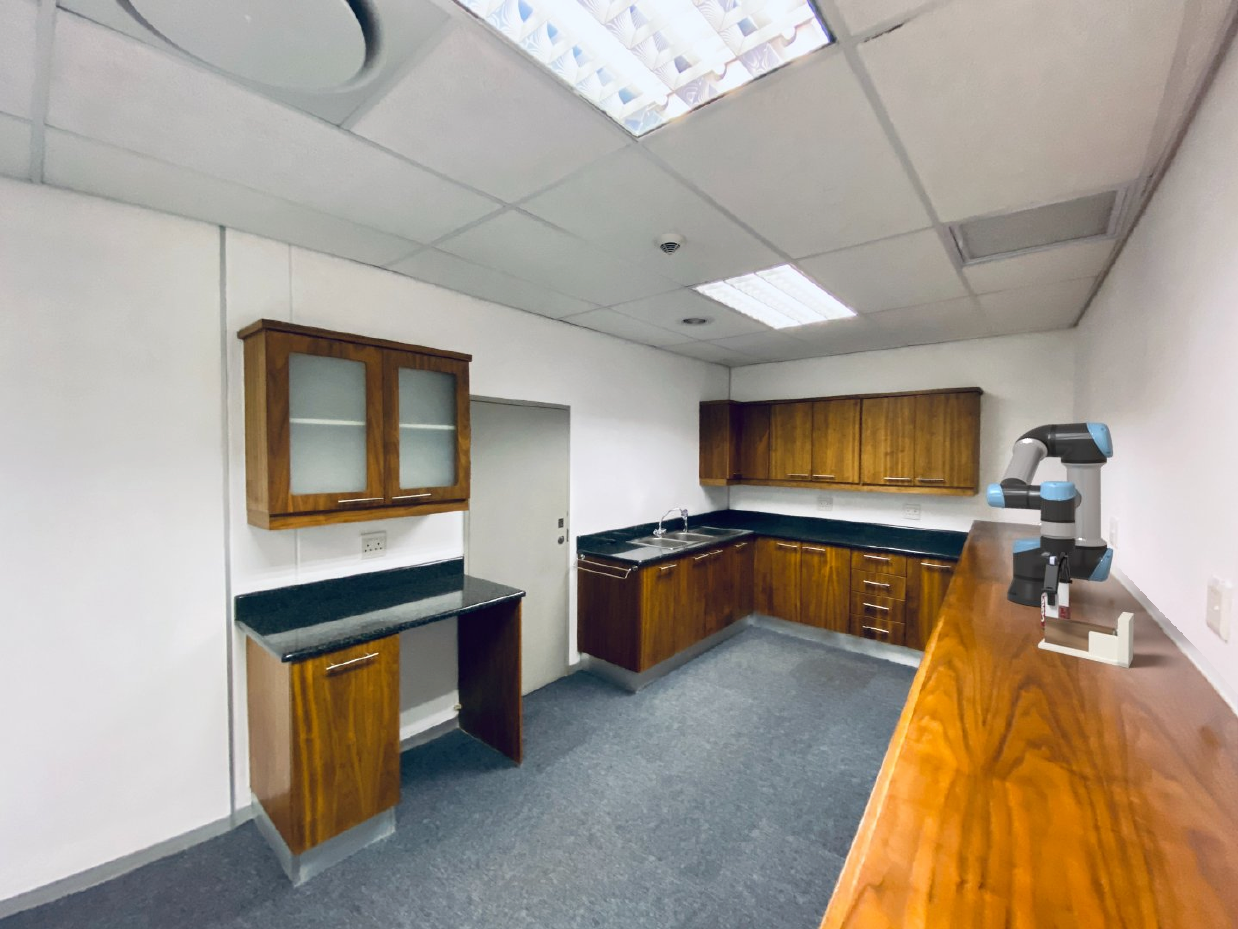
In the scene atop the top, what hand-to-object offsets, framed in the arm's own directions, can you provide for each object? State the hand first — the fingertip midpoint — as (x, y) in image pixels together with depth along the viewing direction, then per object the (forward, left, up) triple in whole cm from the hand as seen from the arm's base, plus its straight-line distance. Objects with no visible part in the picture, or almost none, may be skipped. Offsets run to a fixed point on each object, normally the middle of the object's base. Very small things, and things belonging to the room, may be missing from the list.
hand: (1057, 611), depth 143 cm
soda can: (-16, -3, -10) cm, 19 cm away
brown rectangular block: (0, +5, -9) cm, 10 cm away
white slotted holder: (0, +6, -10) cm, 12 cm away
